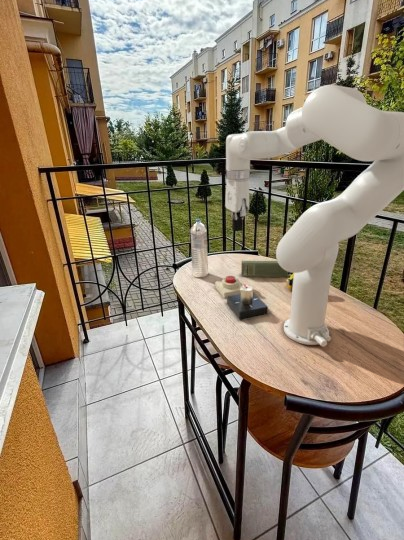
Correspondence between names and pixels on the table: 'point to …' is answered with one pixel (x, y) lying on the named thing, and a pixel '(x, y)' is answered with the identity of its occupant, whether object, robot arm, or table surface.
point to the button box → (228, 287)
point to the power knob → (246, 294)
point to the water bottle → (199, 249)
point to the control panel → (247, 307)
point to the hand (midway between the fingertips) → (237, 230)
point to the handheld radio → (263, 269)
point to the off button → (230, 279)
